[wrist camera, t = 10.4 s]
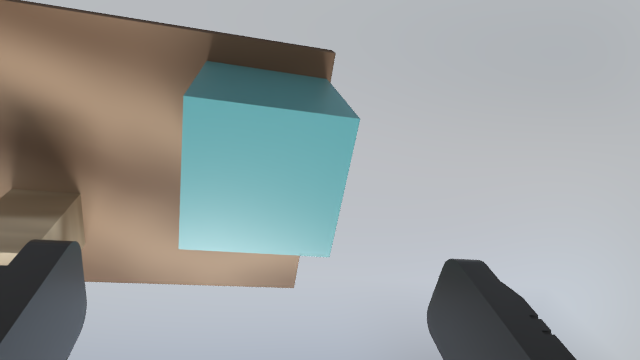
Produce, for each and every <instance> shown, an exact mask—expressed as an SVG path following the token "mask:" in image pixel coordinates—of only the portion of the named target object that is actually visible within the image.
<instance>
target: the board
mask: <svg viewBox="0 0 640 360" xmlns="http://www.w3.org/2000/svg"><path fill="white" fill-rule="evenodd" d="M334 59H335V52H333V51H332V50H327V49H320V48H314V47H308V46H301V45H296V44H289V43H283V42H277V41H270V40H264V39H258V38H252V37H245V36H239V35H233V34H227V33H221V32H215V31H208V30H202V29H196V28H190V27H184V26H177V25H171V24H164V23H159V22H152V21H146V20H140V19H134V18H128V17H121V16H115V15H109V14H102V13H96V12H90V11H84V10H78V9H72V8H65V7H59V6H53V5H46V4H41V3H34V2H27V1H21V0H0V265H8V264H9V263H10V262H11V261H12V260H13V259H14V257H15V256H16V255H17V254H18V253H19V252H20V251H21V249H22V248H23V247H24V246H25V245H26V244H27V243H28V242H29V241H30V240H33V239H38V240H61V241H77V242H78V243H79V245H80V247H81V253H82V262H83V271H84V281H85V282H116V283H149V284H180V285H181V284H183V285H215V286H245V287H277V288H294V284H295V279H296V273H297V268H298V262H299V256H297V255H278V254H259V253H241V252H222V251H203V250H184V249H179V218H180V186H181V155H182V124H183V96H184V94H185V93H186V91H187V90H188V88H189V87H190V85H191V84H192V82H193V81H194V79H195V78H196V76H197V75H198V73H199V72H200V70H201V69H202V67H203V66H204V64H205V63H206V61H211V62H217V63H224V64H231V65H237V66H244V67H251V68H257V69H264V70H271V71H277V72H284V73H290V74H297V75H304V76H310V77H317V78H324V79H327V80H328V81H329V82H331V76H332V70H333V65H334Z"/></svg>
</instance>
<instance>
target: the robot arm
mask: <svg viewBox="0 0 640 360" xmlns="http://www.w3.org/2000/svg"><path fill="white" fill-rule="evenodd" d="M86 301H87V300H86V291H85V281H84V271H83V262H82V253H81V247H80V245H79V243H78V242H77V241H61V240H38V239H33V240H30V241H29V242H28V243H27V244H26V245H25V246H24V247H23V248H22V249H21V251H20V252H19V253H18V254H17V255H16V256H15V257H14V259H13V260H12V261H11V262H10V263H9V264H8V265H0V360H67V359H68V357H69V355H70V352H71V351H72V349H73V347H74V344H75V342H76V340H77V338H78V336H79V334H80V332H81V329H82V327H83V323H84V319H85V315H86V306H87V302H86ZM427 323H428V328H429V331H430V334H431V336H432V338H433V340H434V342H435V344H436V346H437V348H438V350H439V352H440V354H441V356H442V358H443V360H576V359H575V358H574V356H573V355H572V354H571V353H570V352H569V351H568V350H567V348H566V347H565V346H564V345H563V344H562V343H561V341H560V340H559V339H558V338H557V337H556V336H555V335H552V334H551V330H550V329H549V328H548V326H546V324H545V323H544V322H543V321H542V320H541V319H538V315H537V314H536V313H535V311H534V310H533V309H532V308H531V307H530V306H529V304H528V303H527V302H526V301H525V300H524V299H523V298H522V297H521V296H520V295H518V294H517V293H516V292H514V291H513V290H512V289H510V288H509V287H508V286H506V285H505V284H503V283H502V282H500V280H499V279H498V278H497V277H496V276H495V274H494V273H493V272H492V271H491V270H490V269H489V267H488V266H487V265H486V264H485V263H484V262H482V261H480V260H465V259H449V260H447V261H446V262H445V264H444V266H443V268H442V271H441V274H440V276H439V279H438V282H437V285H436V287H435V290H434V293H433V295H432V298H431V301H430V304H429V306H428V311H427Z"/></svg>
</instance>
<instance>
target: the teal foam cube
mask: <svg viewBox="0 0 640 360" xmlns="http://www.w3.org/2000/svg"><path fill="white" fill-rule="evenodd" d="M359 122H360V118H359V117H358V116H357V115H356V113H355V112H354V111H353V110H352V109H351V107H350V106H349V105H348V104H347V102H346V101H345V100H344V99H343V98H342V97H341V95H340V94H339V93H338V92H337V90H336V89H335V88H334V87H333V86H332V84H331V83H330V82H329V81H328V80H327V79H324V78H317V77H310V76H304V75H297V74H290V73H284V72H277V71H271V70H264V69H257V68H251V67H244V66H237V65H231V64H224V63H217V62H211V61H206V63H205V64H204V66H203V67H202V69H201V70H200V72H199V73H198V75H197V76H196V78H195V79H194V81H193V82H192V84H191V85H190V87H189V88H188V90H187V91H186V93H185V94H184V96H183V124H182V155H181V186H180V218H179V249H184V250H203V251H222V252H241V253H259V254H278V255H297V256H316V257H330V252H331V248H332V243H333V239H334V234H335V230H336V225H337V221H338V216H339V212H340V207H341V203H342V198H343V194H344V189H345V185H346V180H347V175H348V171H349V167H350V162H351V157H352V153H353V149H354V144H355V140H356V135H357V131H358V126H359Z"/></svg>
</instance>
